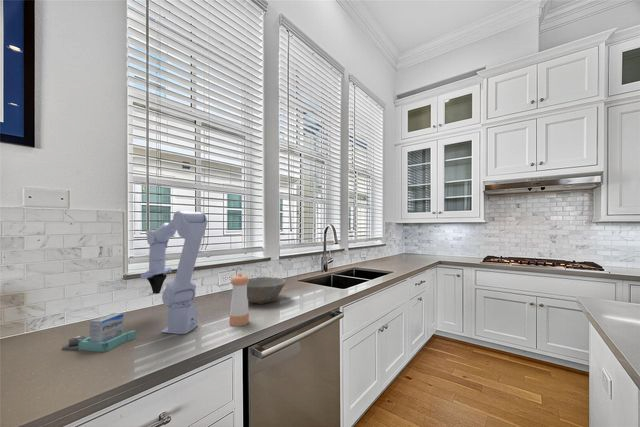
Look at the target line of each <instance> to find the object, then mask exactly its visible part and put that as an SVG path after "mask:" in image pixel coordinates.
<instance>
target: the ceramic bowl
mask: <svg viewBox="0 0 640 427" xmlns="http://www.w3.org/2000/svg"><path fill="white" fill-rule="evenodd" d="M248 279H249V282H248V284H247V300H249V301H250V302H252V303H254V304H256V305H257V304H258V305H262V304H267V303H268V304H269V303H271V302H272V303H273V302H274V301H275V300H276V299H278V297H279V294H280V293H281V292H282V290H283V287H285V285H286V283H287V280H286V279H285V278H281V277H272V276H271V277H270V276H267V277H266V276H260V277H251V278H248Z"/></svg>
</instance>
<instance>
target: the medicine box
mask: <svg viewBox="0 0 640 427" xmlns="http://www.w3.org/2000/svg"><path fill="white" fill-rule="evenodd" d="M122 334H124V313H119V312H113V313H110V314H108V315H105V316H101V317H99V318H95V319H93V320H90V321H89V335H88V336H89V341H98V342H107V341H109V340H111V339H113V338H115V337H117V336H119V335H122Z"/></svg>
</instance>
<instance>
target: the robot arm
mask: <svg viewBox="0 0 640 427" xmlns="http://www.w3.org/2000/svg"><path fill="white" fill-rule="evenodd" d="M207 225H208V218H207V216H206V213H205V212H204V211H185V210H183V211H181V210H177V211H175V212H174V213H173V216H172V220H171V221H170V222H163V223H162V225H160V226H159V227H158V228H156V229H155V230H151V229H150V230H149V231H148V232H147V234H146V242H147V244H148V245H149V251H148V252H149V253H148V255H149V256H148V270H146V272H142V273H140V280H147V281H148V282H149V284H150V287H151V291H152V294H154V295H155V294H156V295H157V294H160V293H161V290H162V287H163V284H164V282H165V280H166V279H167V277H168V276H167V274H168V273H172V267H166V251H167V250H166V249H168V243H169V240H170V238H172V237H174V236H175V235H176V232H177V234H178V236H179V237H180V238H182V239H183V240H184V243H183V246H182V250H181V254H180V257H179V261H178V265H177V269H176V273H175V276H174V279H172V280H170V281H169V282H168V283H167V284H166V287H165V289H164V290H163V292H162V295H161V297H162V302H163V305H164V306H165V307H167V325H166V326H167V327H166V328H164V329H162V330H161V333H166V334H176V335H177V334H178V335H179V334H180V335H186V334H188V333H189V332H191V331H192V330H194V329H195V328H197V327H198V326H199V324H198V308H197V306H196V305H194V304H193V301H194V300H195V298H196V289H197V288H196V287H197V285H196V283H195V282H194V281H193V280H192V276H193V272H194V270H195V266H196V262H197V258H198V256H199V255H198V254H199V250H200V248H201V247H200V246H201V243H202V239H203V237H204V235H205V232H206V228H207ZM192 304H193V305H192Z"/></svg>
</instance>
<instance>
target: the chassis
mask: <svg viewBox="0 0 640 427" xmlns="http://www.w3.org/2000/svg"><path fill="white" fill-rule="evenodd" d="M136 332H137V331H136V330H135V329H134V330H130V331H127V332H123V334H122V335H119V336H117V337H115V338H113V339H111V340H109V341H107V342H98V341H89V335H87V336H85V335H84V336H83V335H77V336H74V337H72V338H70V339H68V344H65V345H63V346H62V350H69V351H87V352H98V353H99V352H100V353H101V352H102V353H106V352H108V351H110V350H112V349H114V348H116V347H118V346H120V345H122V344H123V343H125V342H128V341H132V340H134V339H136V336H137V335H136V334H137V333H136Z"/></svg>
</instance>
